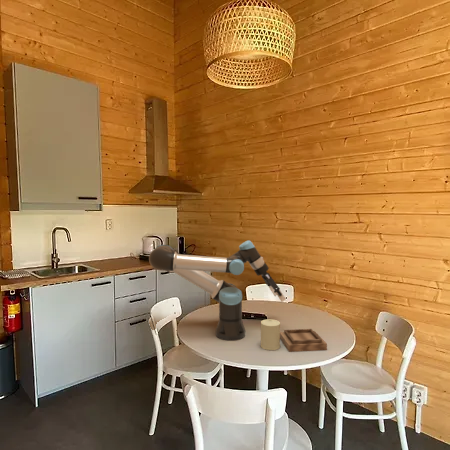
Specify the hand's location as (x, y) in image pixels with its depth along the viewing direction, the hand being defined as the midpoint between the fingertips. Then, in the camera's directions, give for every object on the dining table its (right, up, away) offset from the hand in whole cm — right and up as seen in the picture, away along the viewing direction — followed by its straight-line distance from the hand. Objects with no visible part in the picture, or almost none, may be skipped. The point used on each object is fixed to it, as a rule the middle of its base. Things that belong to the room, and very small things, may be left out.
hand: (280, 297), depth 192 cm
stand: (+7, -17, -25) cm, 31 cm away
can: (-9, -17, -27) cm, 34 cm away
